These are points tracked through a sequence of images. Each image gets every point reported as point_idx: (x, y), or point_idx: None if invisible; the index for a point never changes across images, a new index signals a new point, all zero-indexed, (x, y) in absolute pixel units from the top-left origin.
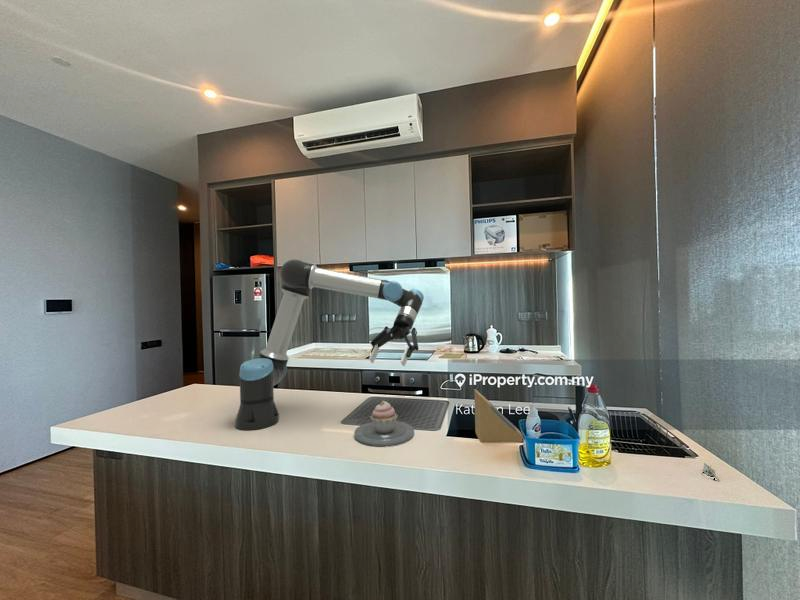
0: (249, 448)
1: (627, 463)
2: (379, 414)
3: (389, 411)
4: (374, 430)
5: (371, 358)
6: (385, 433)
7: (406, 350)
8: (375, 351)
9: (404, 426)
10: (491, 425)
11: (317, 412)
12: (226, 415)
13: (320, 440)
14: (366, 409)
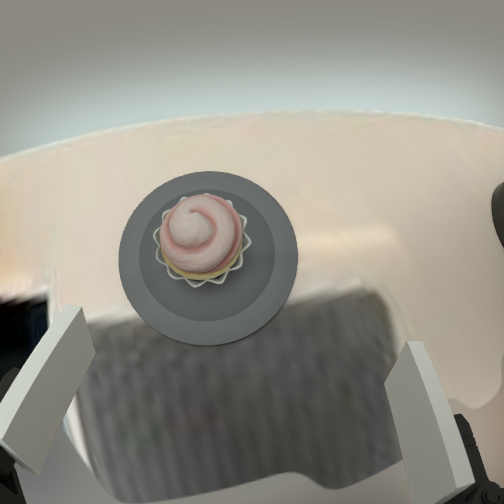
0: (430, 117)
1: None
2: (200, 195)
3: (169, 213)
4: None
5: (405, 358)
6: None
7: (7, 396)
8: (426, 439)
9: (157, 303)
10: None
11: (480, 342)
12: None
13: (347, 171)
14: (370, 439)
